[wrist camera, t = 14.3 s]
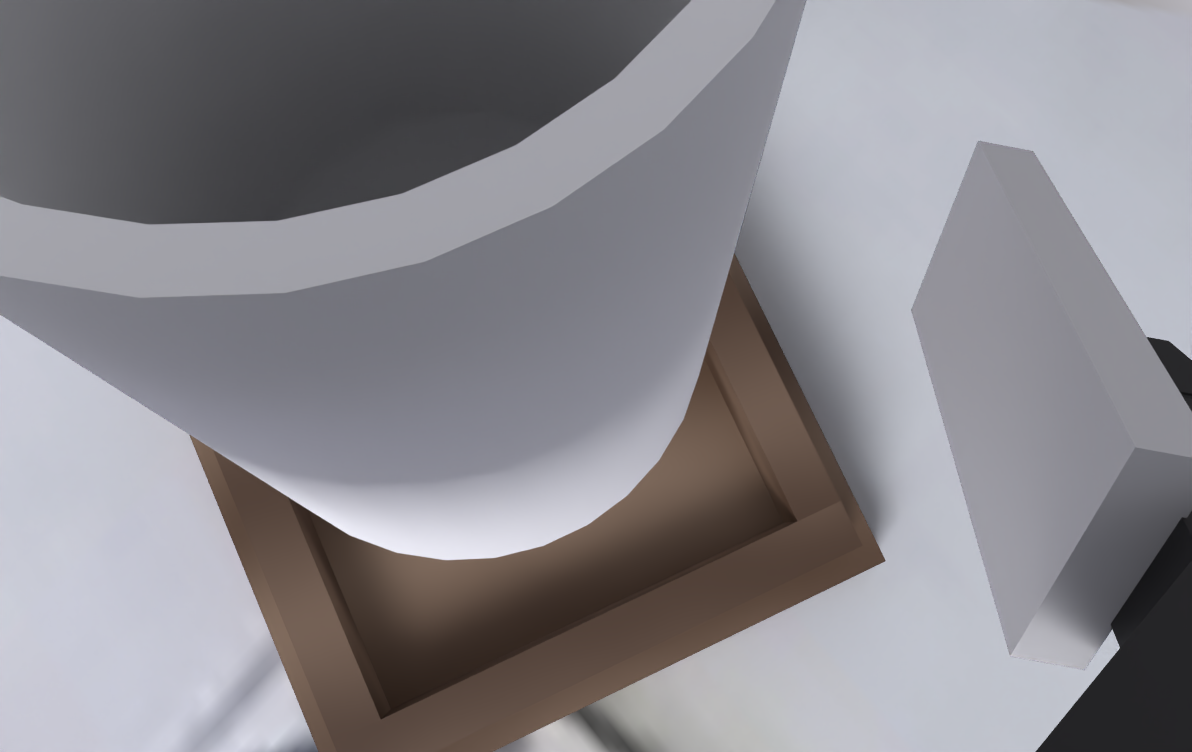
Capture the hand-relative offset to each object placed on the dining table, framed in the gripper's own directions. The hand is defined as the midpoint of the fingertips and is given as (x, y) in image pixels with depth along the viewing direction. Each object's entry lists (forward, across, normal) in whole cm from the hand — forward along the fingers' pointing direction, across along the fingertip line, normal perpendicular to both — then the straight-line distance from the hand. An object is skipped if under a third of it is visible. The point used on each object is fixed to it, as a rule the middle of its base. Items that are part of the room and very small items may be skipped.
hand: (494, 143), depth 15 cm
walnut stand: (+9, 0, -12) cm, 15 cm away
